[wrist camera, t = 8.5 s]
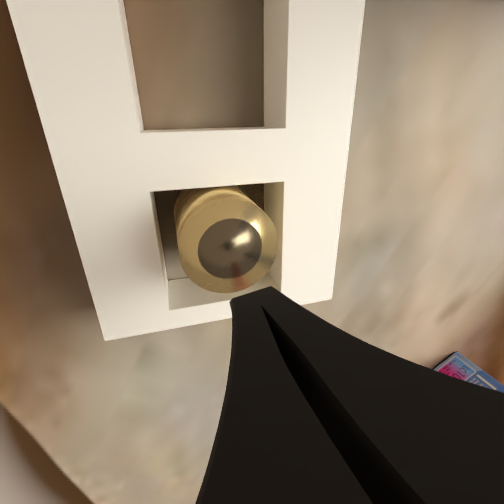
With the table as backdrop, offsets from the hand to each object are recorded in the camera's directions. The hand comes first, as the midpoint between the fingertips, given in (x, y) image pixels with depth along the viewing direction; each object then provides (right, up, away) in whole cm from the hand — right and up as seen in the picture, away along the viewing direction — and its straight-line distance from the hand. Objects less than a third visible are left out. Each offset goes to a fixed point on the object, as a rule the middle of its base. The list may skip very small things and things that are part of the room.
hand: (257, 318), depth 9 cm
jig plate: (-2, +7, +6) cm, 9 cm away
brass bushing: (-2, +4, +7) cm, 9 cm away
